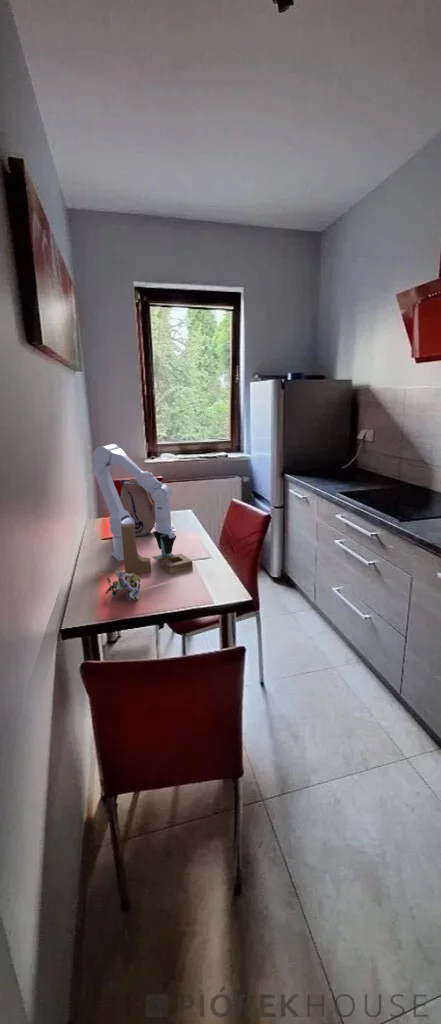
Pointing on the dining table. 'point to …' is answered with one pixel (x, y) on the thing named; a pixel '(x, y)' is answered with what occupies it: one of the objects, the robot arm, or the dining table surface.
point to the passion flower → (126, 585)
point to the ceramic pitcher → (138, 506)
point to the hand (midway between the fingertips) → (165, 550)
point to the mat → (160, 557)
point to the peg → (163, 549)
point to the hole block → (175, 564)
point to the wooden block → (133, 552)
